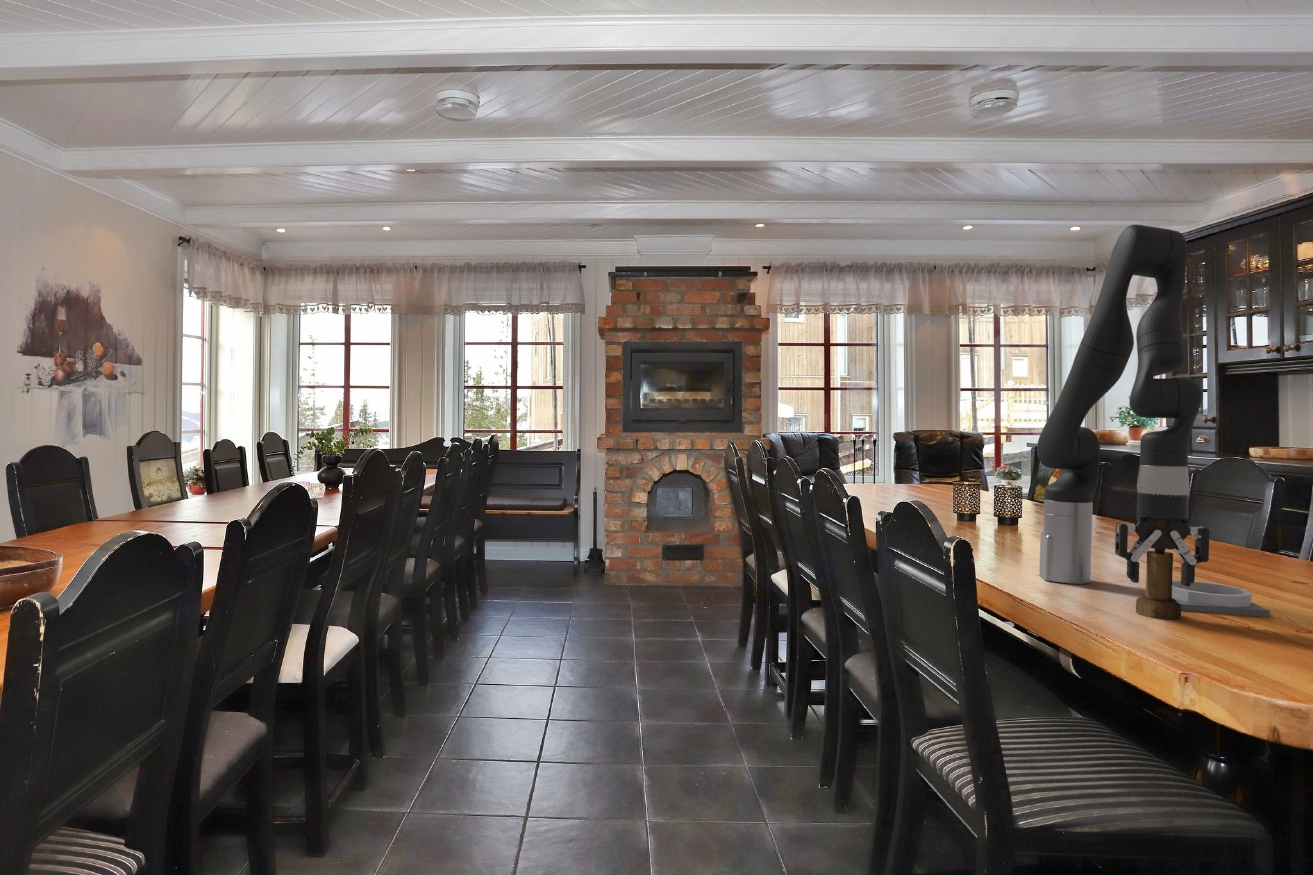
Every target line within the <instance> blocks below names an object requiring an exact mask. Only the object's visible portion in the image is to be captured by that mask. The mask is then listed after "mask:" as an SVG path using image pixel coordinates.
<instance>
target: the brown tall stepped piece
mask: <svg viewBox="0 0 1313 875" xmlns="http://www.w3.org/2000/svg"><path fill="white" fill-rule="evenodd" d="M1157 525H1158V526H1159V527H1160V528H1161V529H1166V528H1168V527H1169V526H1170V521H1169V520H1158V521H1157ZM1160 541H1161V543H1164V542H1165V540H1160ZM1173 565H1174V553H1172V552H1169V551H1166V549H1165V548H1160V549H1154V550H1148V551H1147V552H1146V571H1145V572H1146V573H1145V594H1144V595H1141V596H1140V597H1138V598H1136V601H1135V612H1136V613H1137V614H1138V615H1141V616H1143V617H1148V618H1153V619H1161V620H1180V619H1181V618H1182V611H1181V605H1180V604H1179V603H1178V602H1177V601H1176V600H1175V599H1173V598H1172V581H1173V575H1174V574H1173V570H1174V568H1173V567H1174V566H1173Z"/></svg>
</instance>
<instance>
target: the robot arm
mask: <svg viewBox="0 0 1313 875" xmlns="http://www.w3.org/2000/svg"><path fill="white" fill-rule="evenodd" d="M1187 257H1188V246H1187V240H1186V238H1185V236H1184V234H1183V233H1181V232H1180V231H1177V230H1174V229H1170V228H1162V227H1156V226H1150V225H1149V226H1148V225H1142V224H1131V225H1129V226H1127V227H1125V228H1124V229H1123V230H1122V231H1121V232H1120V235H1119V236H1118V238H1117V239H1116V242H1115V243H1114V246H1113V248H1112V251H1111V254H1110V258H1109V260H1108V263H1107V264H1108V265H1107V267H1106V271H1105V274H1104V277H1103V280H1102V285H1101V289H1100V291H1099V295H1098V298H1097V301H1096V304H1095V306H1094V309H1093V312H1092V314H1091V317H1090V320H1089V322H1088V324H1087V327H1086V329H1085V331H1084V334H1083V336H1082V339H1081V341H1080V344H1079V345H1078V349H1077V352H1076V354H1075V356H1074V358H1073V362H1072V365H1071V368H1070V370H1069V373H1068V376H1067V378H1066V380H1065V382H1064V385H1063V388H1062V390H1061V391H1060V395H1059V396H1058V400H1056V403H1055V405H1054V407H1053V410H1052V411H1051V413H1050V415H1049V416H1048V418H1047V420H1046V423H1045V425H1044V426H1043V428H1042V430H1041V432H1040V435H1039V438H1038V440H1037V445H1036V455H1037V458H1038V461H1039V462H1040V464H1041V465H1042V466H1044V467H1046V468H1049V469H1051V470H1053V469H1054V470H1060V475H1059V477H1058V478H1057V479H1056V480H1055V481H1053V482H1052V483H1050V484H1048V485H1046V486H1045V488H1044V494H1043V527H1042V528H1043V529H1042V530H1043V531H1042V532H1041V533H1040V536H1039V538H1040V540H1039V541H1040V543H1039V544H1040V545H1039V548H1040V549H1039V570H1038V571H1039V576H1040V577H1041V578H1042V579H1043V580H1045V581H1048V582H1049V581H1050V582H1055V583H1056V582H1057V583H1063V584H1064V583H1065V584H1076V585H1078V584H1079V585H1084V584H1089V583H1091V576H1092V575H1091V574H1092V541H1093V539H1092V537H1093V534H1092V533H1093V507H1094V506H1093V505H1094V504H1093V501H1094V494H1095V493H1096V491H1097V490H1096V489H1097V487H1098V485H1099V484H1098V482H1099V473H1100V463H1101V462H1100V461H1101V459H1100V458H1101V446H1100V445H1101V444H1100V441H1099V438H1098V436H1097V434H1096V432H1094V430H1092V429H1091V428H1089V427H1086V426H1085V427H1084V426H1082V424H1083V422H1084V420H1085V418H1086V417H1087V415H1088V413H1089V412H1090V410H1091V409H1092V408H1093V407H1094V406H1095V405H1096V404H1097V403H1098V402H1099V401H1100V400H1101V399H1102V398H1103V397H1104V396H1105V395H1106V394H1107V393H1108V392H1109V391H1110V390H1111V389H1112V388H1113V387H1114V386H1115V385H1116V384H1117V382H1118V381H1119V380H1120V379H1121V377H1122V375H1123V374H1124V371H1125V370H1126V367H1127V365H1128V362H1129V360H1130V357H1131V355H1132V352H1133V350H1134V344H1135V338H1134V333H1133V328H1132V324H1131V321H1130V316H1129V312H1128V308H1127V298H1128V297H1127V296H1128V292H1129V288H1130V284H1131V281H1132V279H1133V276H1136V277H1139V276H1140V277H1144V278H1150V279H1152V278H1153V279H1154V280H1155V283H1156V288H1157V292H1156V295H1155V297H1154V298H1153V301H1152V302H1151V304H1150V305H1149V306H1148V307H1147V309H1146V310H1145V311H1144V313H1143V315H1142V316H1141V318H1140V320H1139V322H1138V324H1137V328H1136V335H1135V336H1136V350H1137V369H1136V376H1135V379H1134V382H1133V384H1132V389H1131V392H1130V395H1129V407H1130V409H1131V411H1132V412H1133V413H1134V414H1135V415H1136V416H1137V417H1139V418H1143V419H1174V420H1173V423H1172V424H1171V425H1170V426H1169V427H1168V428H1167V429H1162V430H1156V431H1155V430H1154V431H1151V432H1146V433H1144V434H1143V435H1142V436H1141V437H1140V442H1139V444H1140V445H1139V468H1138V475H1137V484H1136V489H1137V492H1136V493H1137V494H1136V520H1135V522H1134V523H1133V524H1132V523H1130V524H1129V523H1123V522H1117V523H1116V524H1115V538H1114V539H1115V540H1114V541H1115V544H1114V548H1115V549H1114V553H1115V555H1117V556H1118V557H1121V558H1123V559H1126V577H1127V579H1130V582H1132V583H1133V584H1134V583H1135V584H1139V583H1140V562H1139V560H1140V559H1141V558H1142V556H1143V555H1144V554H1145V553H1147V551H1149V549H1153V550H1155V549H1160V548H1165V550H1173V551H1175V552H1176V553H1177V554H1178V555H1179V557H1180V558H1181V560H1182V561H1183V562H1182V563H1181V564H1180V566H1181V567H1180V568H1181V569H1180V572H1181V573H1180V574H1181V575H1180V580H1181V584H1182V585H1184V586H1191V583H1194V581H1196V580H1195V579H1196V578H1195V576H1196V575H1195V574H1196V565H1197V564H1201V563H1207V562H1209V559H1210V529H1209V528H1207V527H1204V526H1190V524H1189V523H1188V521H1189V496H1190V495H1189V493H1190V489H1189V488H1190V477H1189V476H1190V475H1189V469H1188V468H1189V466H1188V465H1189V442H1190V438H1191V433H1192V430H1193V427H1194V423H1195V421H1196V419H1197V416H1198V413H1199V412H1200V408H1201V405H1202V401H1203V396H1204V395H1203V389H1202V387H1201V386H1200V384H1199V383H1198V381H1196V380H1195V379H1192V378H1185V377H1183V378H1182V377H1181V378H1180V377H1178V378H1175V377H1174V378H1171V377H1169V378H1154V377H1157V376H1161V375H1165V374H1169V373H1173V372H1175V371H1178V370H1179V369H1181V368H1182V367H1184V365H1185V362H1186V353H1185V348H1184V347H1185V345H1184V344H1185V343H1184V335H1183V334H1184V333H1183V327H1182V326H1183V325H1182V307H1183V300H1184V290H1185V283H1186V282H1185V281H1186V273H1187V271H1186V270H1187V259H1188V258H1187ZM1158 520H1169V521H1170V526H1169V527H1168V528H1166V529H1161V528H1160V527H1159V526H1158V525H1157V521H1158ZM1133 531H1134V532H1135V533H1136V535H1137V536H1138V538H1137V539H1136V541H1135V542H1134V543H1133V544H1132V547H1131V549H1130V550H1128V544H1129V543H1128V542H1129V540H1128V539H1129V538H1128V537H1130V536H1131V535H1132V533H1133ZM1190 534H1191V538H1193V539H1194V554H1193V553H1192V552H1191V550H1190V548H1189V547H1188V545H1187V544H1186V543H1185V541H1184V540H1185V539H1186V538H1187V537H1188V536H1189V535H1190ZM1160 540H1165V542H1164V543H1161V541H1160Z"/></svg>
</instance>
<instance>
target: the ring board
mask: <svg viewBox="0 0 1313 875" xmlns="http://www.w3.org/2000/svg"><path fill="white" fill-rule="evenodd" d="M1252 594H1253V593H1252V591H1249V590H1247V589H1244V588H1241V587H1236V586H1232V585H1227V584H1221V583H1214V582H1208V581H1200V580H1199V581H1197V580H1195V581H1194V583H1191V586H1184V585H1182V584H1181V579H1180V580H1178V579H1177V580H1172V598H1173V599H1175V600H1176V601H1177V602H1178V603H1179V604H1180V605H1181V612H1183V611H1184V612H1196V613H1209V614H1210V613H1211V614H1221V615H1222V614H1223V615H1237V616H1238V615H1239V616H1249V617H1250V616H1251V617H1252V616H1253V617H1265V618H1270V616H1271V615H1270V613H1271V610H1270V609H1268V608H1265V607H1263V606H1261V605H1258V604H1257V603H1254V602H1252V598H1253V597H1252V596H1253V595H1252Z"/></svg>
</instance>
